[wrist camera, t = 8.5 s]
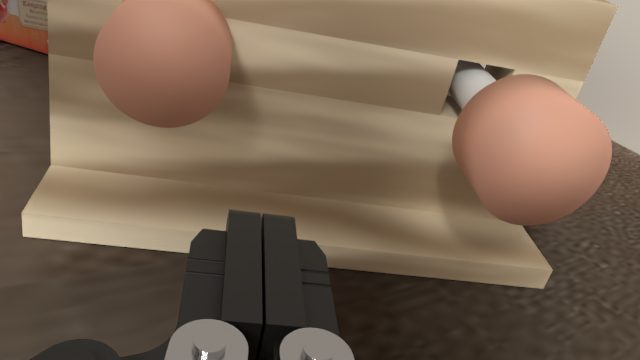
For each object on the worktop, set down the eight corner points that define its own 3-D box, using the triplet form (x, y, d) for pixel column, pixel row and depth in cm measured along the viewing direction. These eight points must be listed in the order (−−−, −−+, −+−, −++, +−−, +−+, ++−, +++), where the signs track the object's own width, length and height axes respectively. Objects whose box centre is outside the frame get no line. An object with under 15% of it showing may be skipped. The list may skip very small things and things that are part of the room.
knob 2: (576, 232, 23) (636, 116, 20) (457, 217, 22) (505, 94, 19) (470, 103, 34) (501, 18, 31) (388, 90, 33) (413, 1, 30)
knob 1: (221, 135, 24) (238, 13, 21) (92, 118, 23) (94, -12, 20) (231, 40, 34) (243, -47, 32) (144, 26, 34) (149, -66, 31)
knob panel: (543, 288, 29) (674, 32, 22) (22, 236, 24) (4, -105, 18) (492, 210, 35) (584, -10, 28) (68, 156, 30) (67, -119, 24)
